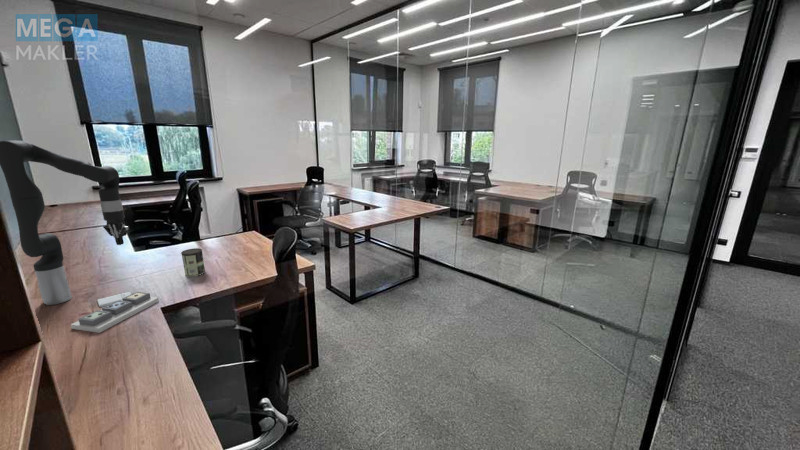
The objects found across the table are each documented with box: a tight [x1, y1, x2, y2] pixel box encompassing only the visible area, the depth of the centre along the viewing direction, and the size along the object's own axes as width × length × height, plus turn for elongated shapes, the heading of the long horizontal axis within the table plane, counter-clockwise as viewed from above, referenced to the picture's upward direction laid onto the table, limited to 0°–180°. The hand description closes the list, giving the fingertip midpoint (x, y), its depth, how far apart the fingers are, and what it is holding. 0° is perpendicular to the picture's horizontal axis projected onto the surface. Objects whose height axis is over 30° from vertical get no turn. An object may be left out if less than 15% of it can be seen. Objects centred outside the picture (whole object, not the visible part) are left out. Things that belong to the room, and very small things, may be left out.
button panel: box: [70, 291, 160, 334], centre depth 144 cm, size 14×27×4 cm, turn 170°
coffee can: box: [180, 247, 206, 278], centre depth 187 cm, size 10×10×14 cm
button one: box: [127, 292, 145, 299], centre depth 152 cm, size 5×5×3 cm
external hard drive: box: [96, 291, 132, 308], centre depth 156 cm, size 2×8×12 cm
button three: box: [106, 302, 126, 309], centre depth 143 cm, size 5×5×3 cm
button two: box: [83, 312, 106, 320], centre depth 135 cm, size 5×5×3 cm
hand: (120, 244), depth 155 cm, fingers closed
